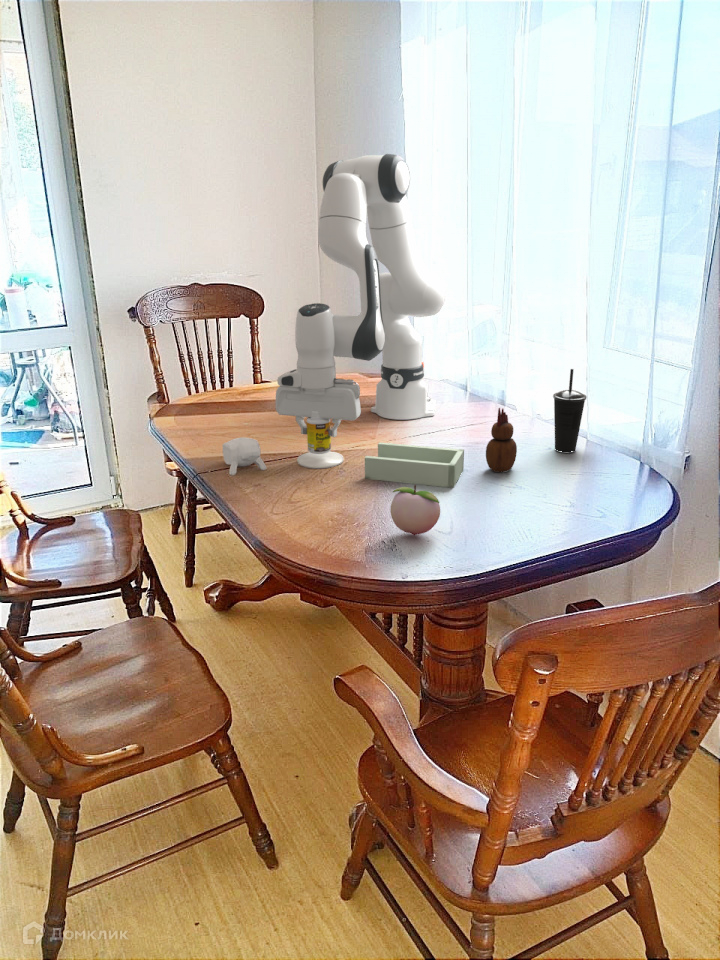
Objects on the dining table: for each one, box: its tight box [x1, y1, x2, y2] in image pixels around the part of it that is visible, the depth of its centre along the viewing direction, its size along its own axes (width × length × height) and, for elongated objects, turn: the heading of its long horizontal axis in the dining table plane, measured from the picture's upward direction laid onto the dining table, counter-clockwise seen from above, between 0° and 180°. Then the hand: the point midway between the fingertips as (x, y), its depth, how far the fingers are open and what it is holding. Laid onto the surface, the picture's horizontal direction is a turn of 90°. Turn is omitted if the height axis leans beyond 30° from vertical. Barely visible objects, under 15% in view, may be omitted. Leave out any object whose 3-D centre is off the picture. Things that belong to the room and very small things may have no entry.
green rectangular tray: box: [364, 442, 465, 489], centre depth 164 cm, size 11×20×5 cm, turn 71°
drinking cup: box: [552, 368, 587, 452], centre depth 175 cm, size 8×8×20 cm
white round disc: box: [297, 450, 344, 470], centre depth 175 cm, size 11×11×1 cm
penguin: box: [222, 437, 267, 476], centre depth 169 cm, size 9×8×15 cm
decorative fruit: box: [390, 484, 441, 536], centre depth 134 cm, size 9×8×10 cm
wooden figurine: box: [485, 407, 518, 473], centre depth 164 cm, size 7×6×15 cm
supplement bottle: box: [306, 411, 332, 454], centre depth 172 cm, size 6×6×10 cm
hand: (318, 435), depth 173 cm, fingers closed on supplement bottle, 5 cm apart
